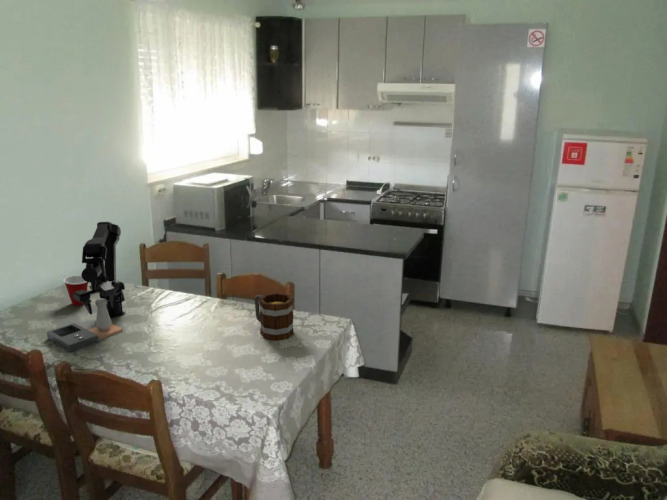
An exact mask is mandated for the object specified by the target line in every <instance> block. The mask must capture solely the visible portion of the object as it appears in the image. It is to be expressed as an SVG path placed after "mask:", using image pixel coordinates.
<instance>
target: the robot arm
mask: <svg viewBox="0 0 667 500" xmlns="http://www.w3.org/2000/svg"><path fill="white" fill-rule="evenodd" d="M121 233H122V231H121V228H120V226H119V225H118V224H115V223H112V222H110V221H99V222H97V224H96V229H95V231H94V233H93V235H92V238H90V239H88V240H87V241H86V242H85V243H84V245H83V247H82V255H81V256H82V257H81V263H82V264H85V267H84V269H82V271H81V275H80V276H82V278H83V280H84V281H86V282H88V283H90V285H88V287H89V289H90V290H87V291H85V290H80V291H76V292H74V294H73V299H75V300H77V301H79V302H82V303H83V306H84V307H85V309H86V310H87V312H88V313H89V315H91V316H92V315H93V310H92V304H91V303H92V299H91V297H92V296H94V295H98V294H99V295H98V296H99V299H100V298H104V299H106V300H107V305H106V307H107V310H108V313H109V316H110V319H115V318H117V317H120V316H124V315H125V314H126V312H124V311H123V310H124V309H123V302H125V300H126V298H125V293H124V291H123V290H125V289H126V287H125V282H123V281H119V280H117V259H116V258H117V256H116V254H117V251H116V246H117V244H118V243H119V241H120V236H121V235H122V234H121Z"/></svg>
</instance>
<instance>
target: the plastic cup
mask: <svg viewBox="0 0 667 500" xmlns="http://www.w3.org/2000/svg"><path fill="white" fill-rule="evenodd" d="M62 281H63V283H64V285H65V287H66V290H67V294H68V297H69V299H70V302H71V304H72V306H75V307H77V306H78V307H79V306H84V304H83V303H82V302H79V301H77V300H75V299H73V294H74V292H76V291H80V290H85V291H88V287H89V282H86V281H84V280H83V278H82V276H81V275H70V276H67V277H65V278H63V280H62Z"/></svg>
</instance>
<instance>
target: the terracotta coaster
mask: <svg viewBox="0 0 667 500" xmlns="http://www.w3.org/2000/svg"><path fill="white" fill-rule="evenodd" d="M123 329H124V328H123V327H119V326H118V325H115V324H113V323H112V322H111V327H110V329H109V330H108V331H104V332H102V331H99V330H98V328H97V327H96V326H94V327H91V328H89V329H87V330H89V331H91V332H92V333H94V334H96V335H98V340H102V339H104V338H108V337H111V336H113V335H116V334H119V333H122V332H123Z"/></svg>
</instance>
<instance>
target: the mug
mask: <svg viewBox="0 0 667 500" xmlns="http://www.w3.org/2000/svg"><path fill="white" fill-rule="evenodd" d="M293 305H294V298H293V296H291V295H290V294H288V293H281V292H273V293H265V294H264V295H262V294H261V293H260V294H257V295H255V296H254V307H255V318H256V320H257V321H258V322H259V323H260V335H261V337H262V336H263V337H262V338H263V340H267V339H268V340H267V341H273V342H278V341H283V340H289V339H290V338H291V337H292V336H293V335H294V334H295V331H294V311H293V310H294V309H293Z"/></svg>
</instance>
